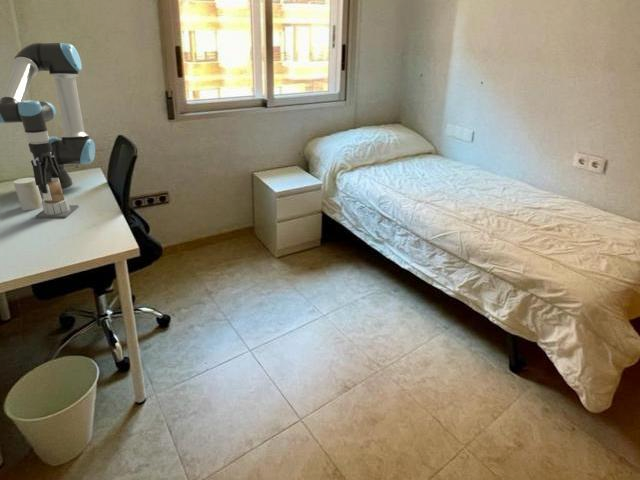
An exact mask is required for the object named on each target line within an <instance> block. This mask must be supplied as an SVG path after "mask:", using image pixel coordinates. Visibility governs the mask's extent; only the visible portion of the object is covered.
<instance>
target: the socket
mask: <svg viewBox="0 0 640 480" xmlns="http://www.w3.org/2000/svg"><path fill="white" fill-rule="evenodd" d="M42 206H43V207H42V210H41V211H40V212H38V213H37V214H36V215H35V219H67V218H68V217H69V216H70V215H72V214H73V213H74V212H75V211H76V210H77V209H79V208H80V206H79V204H70V202H69V199H68V197H67V196H64V200H63V201H61V202H57V203H46V202H45V200H44V199H42Z"/></svg>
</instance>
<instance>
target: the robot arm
mask: <svg viewBox="0 0 640 480" xmlns="http://www.w3.org/2000/svg"><path fill="white" fill-rule="evenodd" d="M12 66H13V68H12V71H11V72H10V76H9V78H8V81H7V82H6V85H5V88H4V89H3V92H2V95H1V97H0V123H1V124H2V123H4V124H9V123H10V124H11V123H13V124H14V123H16V124H17V123H22V126H23V129H24V133H25V134H24V135H25V137H26V140H27V142H28V148H29V151H30V154H32V157H33V159H32V160H31V161H30V163H31V166H32V171H33V175H34V176H33V178H35V183H36V185H37V186H38V188H39V191H40V190H41V193H42V198H43V200H52V197H51V194H50V190H49V186H48V185H46V183H47V182H60V184H61V188H62V189H64V188H68V187H70V186H72V185H73V180H72V178H71V175H70V174H69V173H68V171H67V170H66V167H65V165H86V164H88V165H89V164H91V163H92V162H93V161H95V160H94V159H95V156H96V144H95V141H94V140H93V139H91V138H90V136H89V135H90V134H88V133H87V132H85V127H84V121H83V115H82V110H81V103H80V97H79V92H78V91H79V90H78V85H77V80H76V79H77V78H78V77H79V75H80V74H79V72H80V71H82V68H83V65H82V60H81V58H80V55H79V52H78V50H77V49H76V48H75V46H74V45H73V44H71V43H66V42H65V43H64V42H50V43H49V42H34V43H31V44H28V45H26V46H24V47H23V48H22V49H21V50H20V51H19V52H17V53H16V55H15V56H14V58H13V61H12ZM45 71H46V72H49V76H51V77H52V78H53V80H54V85H55V88H56V89H55V90H56V96H57V101H58V106H59V111H60V117H61V122H62V128H63V134H61V137H60V138H61V139H59V138H58V137H57V136H53V135H52V136H49V132H48V131H49V130H48V127H47V124H46V123H47V122H50V121H51V120H54V119H53V118H55V117H56V115H57V110H56V107H55V106H54V104H52V103H51V102H49V101H46V100H45V101H44V100H42V101H39V100H35V99H31V100H30V99H29V100H26V98H27V95H28V93H29V90H30V87H31V84H32V82H33V79H34V77H35V76H38V73H40V72H45Z"/></svg>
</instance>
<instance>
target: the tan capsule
mask: <svg viewBox="0 0 640 480" xmlns="http://www.w3.org/2000/svg"><path fill="white" fill-rule="evenodd" d="M46 185H48V186H49V190H50V194H51V197H52V200H45V202H46V203H57V202H61V201H63V200H64V197H65V196H64V193H63V188H61V184H60V182H47V183H46Z"/></svg>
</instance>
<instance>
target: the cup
mask: <svg viewBox="0 0 640 480" xmlns="http://www.w3.org/2000/svg"><path fill="white" fill-rule="evenodd" d="M13 185H14V188H15V192H16V195H17V198H18V202H19V205H20V208H21V210H22V211H35V210H38V209H41V208H43V206H42V201H43V199H42V196H41V192H40V189H39V188H38V186H37V185H36V183H35V177H23V178H22V177H21V178H17V179H15V180H13Z"/></svg>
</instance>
